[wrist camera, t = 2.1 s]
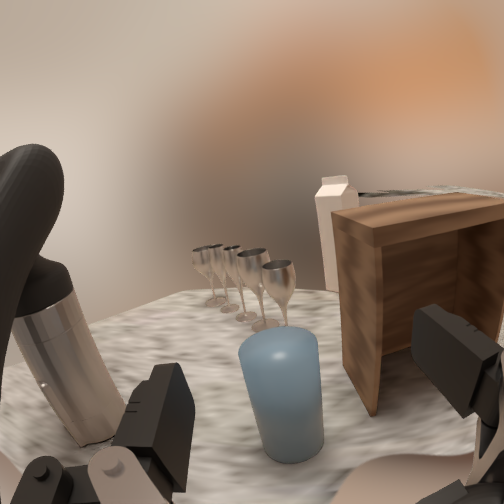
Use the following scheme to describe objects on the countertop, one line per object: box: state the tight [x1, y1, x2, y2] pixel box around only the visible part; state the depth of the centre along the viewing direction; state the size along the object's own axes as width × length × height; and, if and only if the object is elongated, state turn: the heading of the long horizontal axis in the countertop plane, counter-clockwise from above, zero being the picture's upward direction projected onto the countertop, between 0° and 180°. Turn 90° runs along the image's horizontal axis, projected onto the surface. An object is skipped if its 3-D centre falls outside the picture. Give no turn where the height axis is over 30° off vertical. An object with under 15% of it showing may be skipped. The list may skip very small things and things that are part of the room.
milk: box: [315, 175, 359, 293], centre depth 54 cm, size 6×6×22 cm
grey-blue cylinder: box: [238, 326, 324, 464], centre depth 23 cm, size 6×6×12 cm
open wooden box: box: [331, 192, 504, 417], centre depth 27 cm, size 10×18×20 cm, turn 93°
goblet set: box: [192, 244, 296, 333], centre depth 52 cm, size 28×6×13 cm, turn 36°
